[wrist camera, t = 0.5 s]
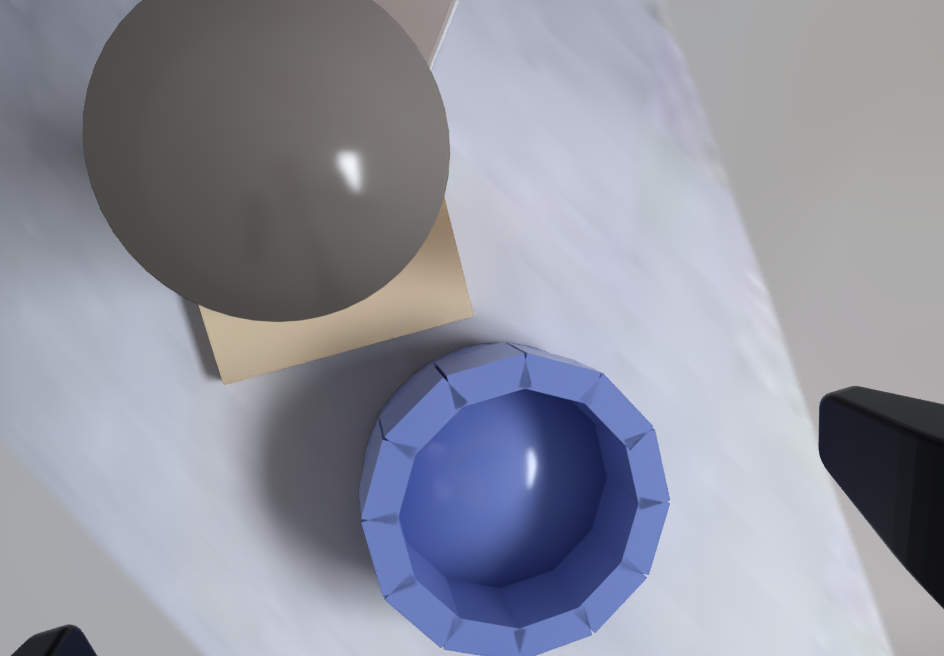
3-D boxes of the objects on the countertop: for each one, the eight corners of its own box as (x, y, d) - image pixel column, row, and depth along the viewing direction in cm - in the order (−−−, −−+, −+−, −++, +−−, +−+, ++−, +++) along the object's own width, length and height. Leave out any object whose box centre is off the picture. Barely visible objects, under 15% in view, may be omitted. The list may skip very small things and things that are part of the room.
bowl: (642, 550, 25) (691, 599, 21) (402, 634, 23) (412, 700, 20) (588, 312, 23) (631, 321, 20) (330, 385, 22) (328, 409, 18)
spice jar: (405, 262, 21) (484, 273, 10) (258, 300, 21) (149, 361, 9) (366, 115, 21) (401, -70, 9) (213, 149, 20) (28, -3, 8)
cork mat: (470, 314, 22) (474, 316, 22) (226, 381, 21) (223, 384, 21) (408, 68, 21) (410, 63, 21) (146, 124, 20) (140, 120, 19)
